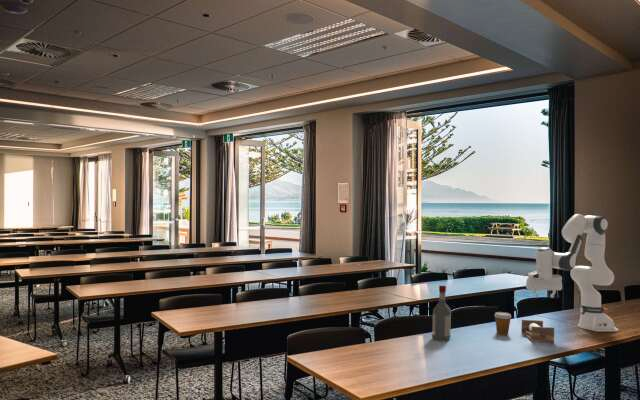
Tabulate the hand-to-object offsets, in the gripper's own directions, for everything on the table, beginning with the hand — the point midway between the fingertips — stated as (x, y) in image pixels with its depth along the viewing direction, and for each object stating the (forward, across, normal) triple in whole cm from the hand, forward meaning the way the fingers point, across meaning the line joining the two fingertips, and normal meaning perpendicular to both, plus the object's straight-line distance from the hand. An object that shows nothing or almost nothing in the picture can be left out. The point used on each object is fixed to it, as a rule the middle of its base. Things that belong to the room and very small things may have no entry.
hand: (544, 297), depth 296 cm
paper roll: (+17, +8, +10) cm, 21 cm away
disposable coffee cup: (+21, +26, +4) cm, 34 cm away
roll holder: (+21, +8, +10) cm, 25 cm away
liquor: (+19, +65, +22) cm, 71 cm away
